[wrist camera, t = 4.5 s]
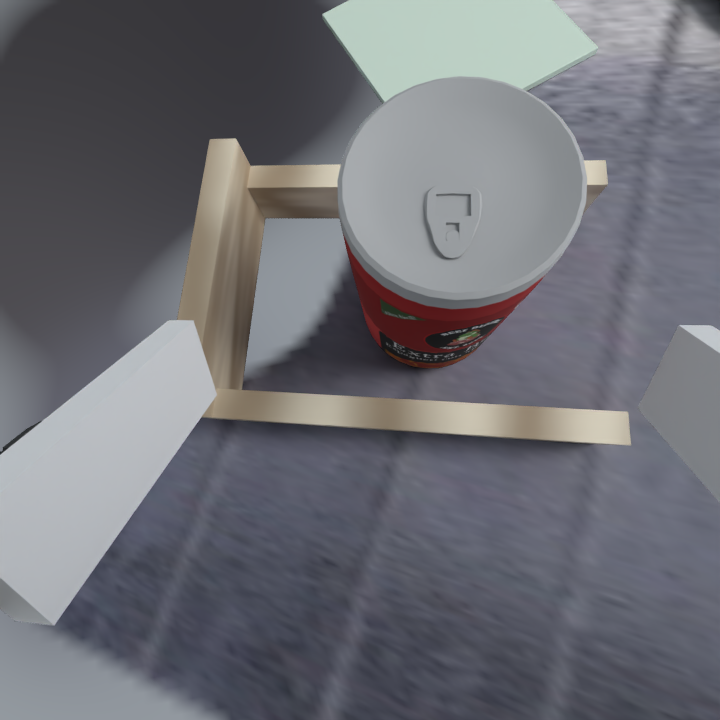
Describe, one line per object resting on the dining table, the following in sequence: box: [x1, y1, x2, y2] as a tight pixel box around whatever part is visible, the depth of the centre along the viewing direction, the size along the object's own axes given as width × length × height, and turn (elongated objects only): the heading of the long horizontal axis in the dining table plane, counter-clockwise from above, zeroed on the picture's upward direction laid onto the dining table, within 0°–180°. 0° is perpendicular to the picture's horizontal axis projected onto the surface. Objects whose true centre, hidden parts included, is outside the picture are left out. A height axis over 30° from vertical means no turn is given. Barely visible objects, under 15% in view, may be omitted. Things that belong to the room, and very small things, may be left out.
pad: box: [323, 0, 598, 104], centre depth 25 cm, size 14×14×1 cm
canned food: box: [337, 76, 587, 368], centre depth 16 cm, size 8×8×11 cm
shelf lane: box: [177, 139, 631, 445], centre depth 19 cm, size 22×15×5 cm
